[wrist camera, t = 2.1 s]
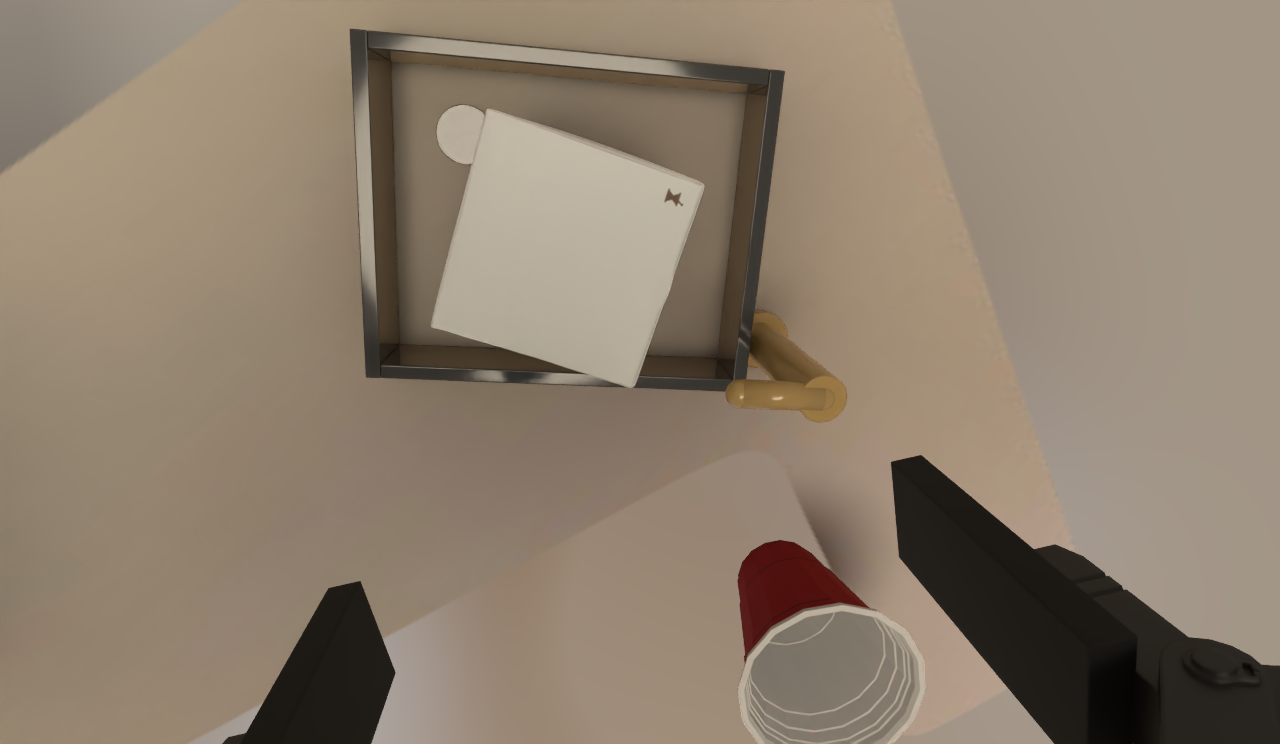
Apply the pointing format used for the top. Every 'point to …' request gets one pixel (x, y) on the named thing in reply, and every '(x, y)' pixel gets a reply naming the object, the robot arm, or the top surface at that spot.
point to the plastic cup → (820, 656)
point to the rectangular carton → (564, 248)
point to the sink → (457, 134)
